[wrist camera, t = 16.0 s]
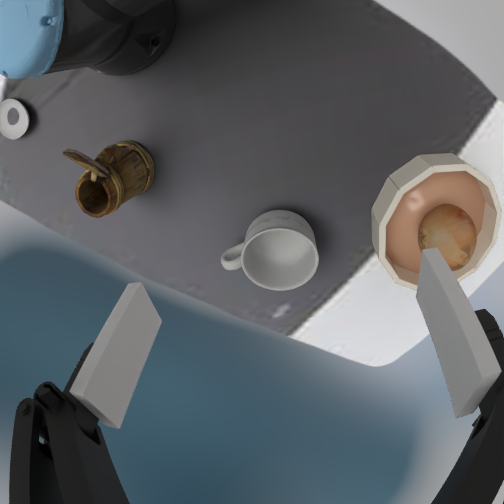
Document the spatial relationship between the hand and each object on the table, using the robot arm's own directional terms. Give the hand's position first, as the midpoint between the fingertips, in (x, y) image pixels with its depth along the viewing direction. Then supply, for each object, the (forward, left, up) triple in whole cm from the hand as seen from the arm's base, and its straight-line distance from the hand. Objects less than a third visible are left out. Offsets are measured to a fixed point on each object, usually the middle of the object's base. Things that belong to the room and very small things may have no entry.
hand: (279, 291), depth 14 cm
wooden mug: (-2, -23, -32) cm, 39 cm away
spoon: (-23, -56, -32) cm, 69 cm away
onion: (+16, +22, -31) cm, 41 cm away
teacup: (+15, -5, -32) cm, 36 cm away
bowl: (+16, +22, -32) cm, 42 cm away
